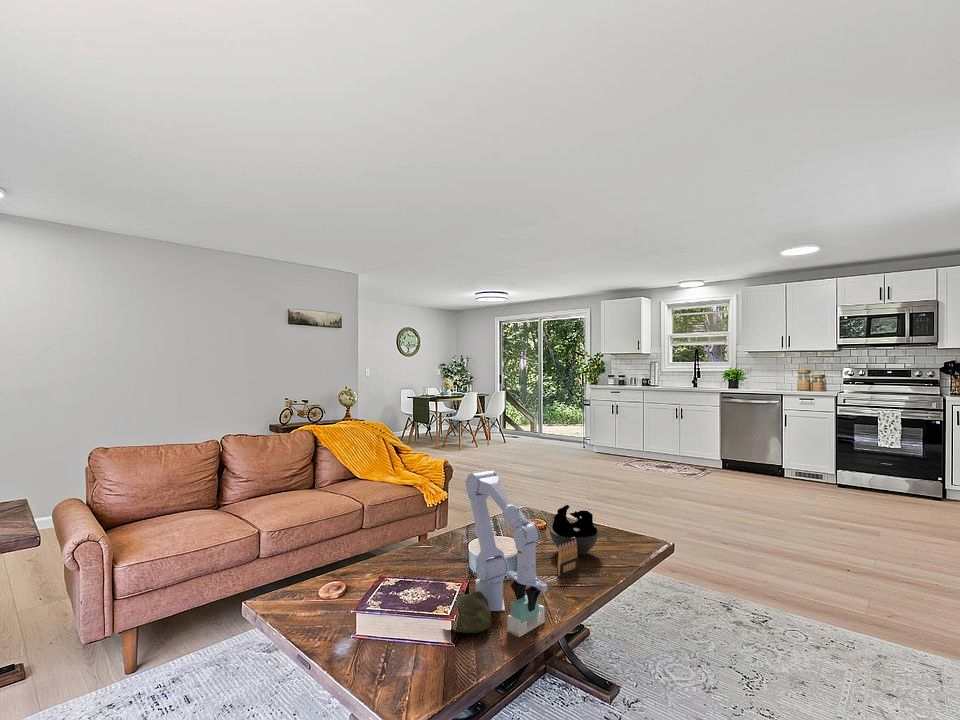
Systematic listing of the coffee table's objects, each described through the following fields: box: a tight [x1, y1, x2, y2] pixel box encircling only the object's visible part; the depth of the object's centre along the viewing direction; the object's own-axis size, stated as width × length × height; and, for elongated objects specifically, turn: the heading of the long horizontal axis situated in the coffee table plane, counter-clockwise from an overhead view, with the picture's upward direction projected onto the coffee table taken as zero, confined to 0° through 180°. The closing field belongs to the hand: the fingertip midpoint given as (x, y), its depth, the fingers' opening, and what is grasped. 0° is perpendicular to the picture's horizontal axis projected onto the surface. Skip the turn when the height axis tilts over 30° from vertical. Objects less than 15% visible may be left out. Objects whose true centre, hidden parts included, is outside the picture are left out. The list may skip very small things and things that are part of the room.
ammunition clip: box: [556, 539, 579, 578], centre depth 198 cm, size 11×2×12 cm, turn 130°
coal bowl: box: [549, 504, 599, 557], centre depth 217 cm, size 20×20×19 cm
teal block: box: [510, 594, 540, 623], centre depth 158 cm, size 9×4×5 cm, turn 136°
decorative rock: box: [455, 591, 492, 634], centre depth 159 cm, size 15×16×10 cm
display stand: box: [506, 604, 546, 638], centre depth 159 cm, size 12×5×5 cm, turn 136°
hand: (526, 608), depth 159 cm, fingers closed on teal block, 3 cm apart
